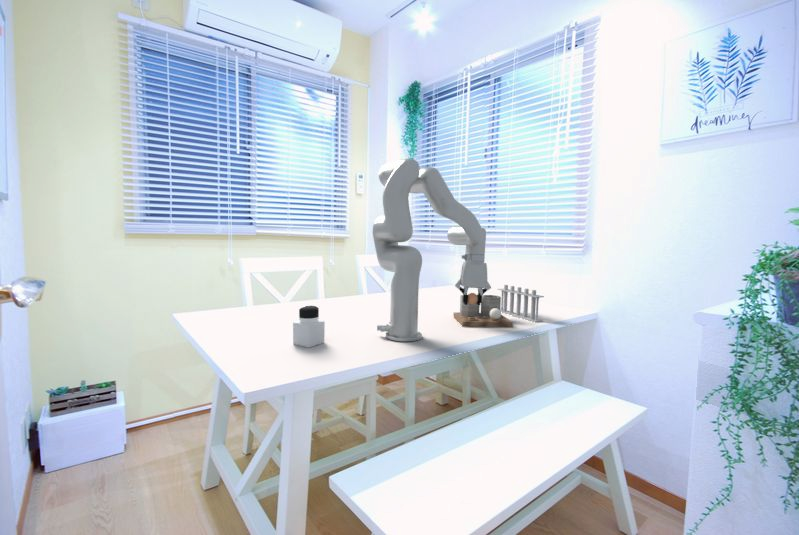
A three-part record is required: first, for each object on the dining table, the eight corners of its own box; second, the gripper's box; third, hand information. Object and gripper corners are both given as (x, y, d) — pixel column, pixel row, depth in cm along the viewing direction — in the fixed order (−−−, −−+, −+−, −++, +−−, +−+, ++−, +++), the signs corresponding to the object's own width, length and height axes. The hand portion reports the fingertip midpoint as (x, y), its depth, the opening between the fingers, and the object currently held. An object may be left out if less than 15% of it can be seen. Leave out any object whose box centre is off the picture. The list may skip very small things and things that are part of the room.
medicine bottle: (324, 342, 122) (325, 306, 121) (309, 348, 116) (309, 309, 115) (308, 339, 125) (308, 303, 124) (292, 344, 119) (292, 306, 118)
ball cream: (491, 320, 149) (491, 309, 148) (487, 318, 153) (488, 307, 153) (502, 320, 149) (502, 309, 148) (498, 318, 153) (499, 307, 153)
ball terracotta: (467, 304, 147) (468, 293, 147) (465, 303, 151) (465, 291, 151) (479, 305, 147) (479, 293, 147) (476, 303, 152) (476, 292, 151)
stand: (462, 326, 147) (463, 301, 146) (453, 316, 165) (454, 294, 164) (512, 327, 148) (513, 302, 147) (498, 317, 166) (499, 294, 165)
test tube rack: (496, 311, 179) (497, 284, 178) (503, 311, 181) (504, 283, 180) (535, 323, 157) (536, 291, 156) (543, 322, 158) (544, 291, 157)
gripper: (455, 258, 144) (452, 305, 145) (498, 260, 145) (495, 307, 146) (451, 257, 152) (449, 302, 153) (492, 259, 153) (490, 304, 154)
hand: (471, 304), depth 149 cm, fingers closed on ball terracotta, 4 cm apart
